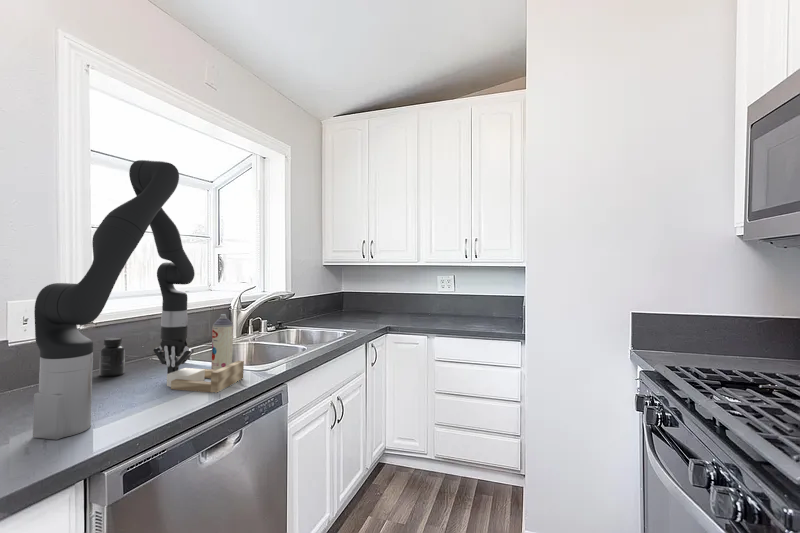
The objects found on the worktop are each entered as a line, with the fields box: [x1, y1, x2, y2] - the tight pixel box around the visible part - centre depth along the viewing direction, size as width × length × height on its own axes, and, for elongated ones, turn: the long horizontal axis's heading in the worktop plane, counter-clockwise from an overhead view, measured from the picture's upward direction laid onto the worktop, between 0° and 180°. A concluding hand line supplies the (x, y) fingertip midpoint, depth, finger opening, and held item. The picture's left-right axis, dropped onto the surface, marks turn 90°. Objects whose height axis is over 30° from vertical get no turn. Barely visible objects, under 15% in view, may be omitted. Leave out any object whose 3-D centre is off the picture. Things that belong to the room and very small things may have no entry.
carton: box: [166, 367, 206, 388], centre depth 128 cm, size 8×7×4 cm
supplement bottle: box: [98, 337, 126, 378], centre depth 135 cm, size 7×7×12 cm
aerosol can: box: [211, 313, 234, 370], centre depth 145 cm, size 7×7×20 cm
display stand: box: [170, 360, 245, 394], centre depth 128 cm, size 15×15×6 cm
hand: (172, 377), depth 130 cm, fingers closed
